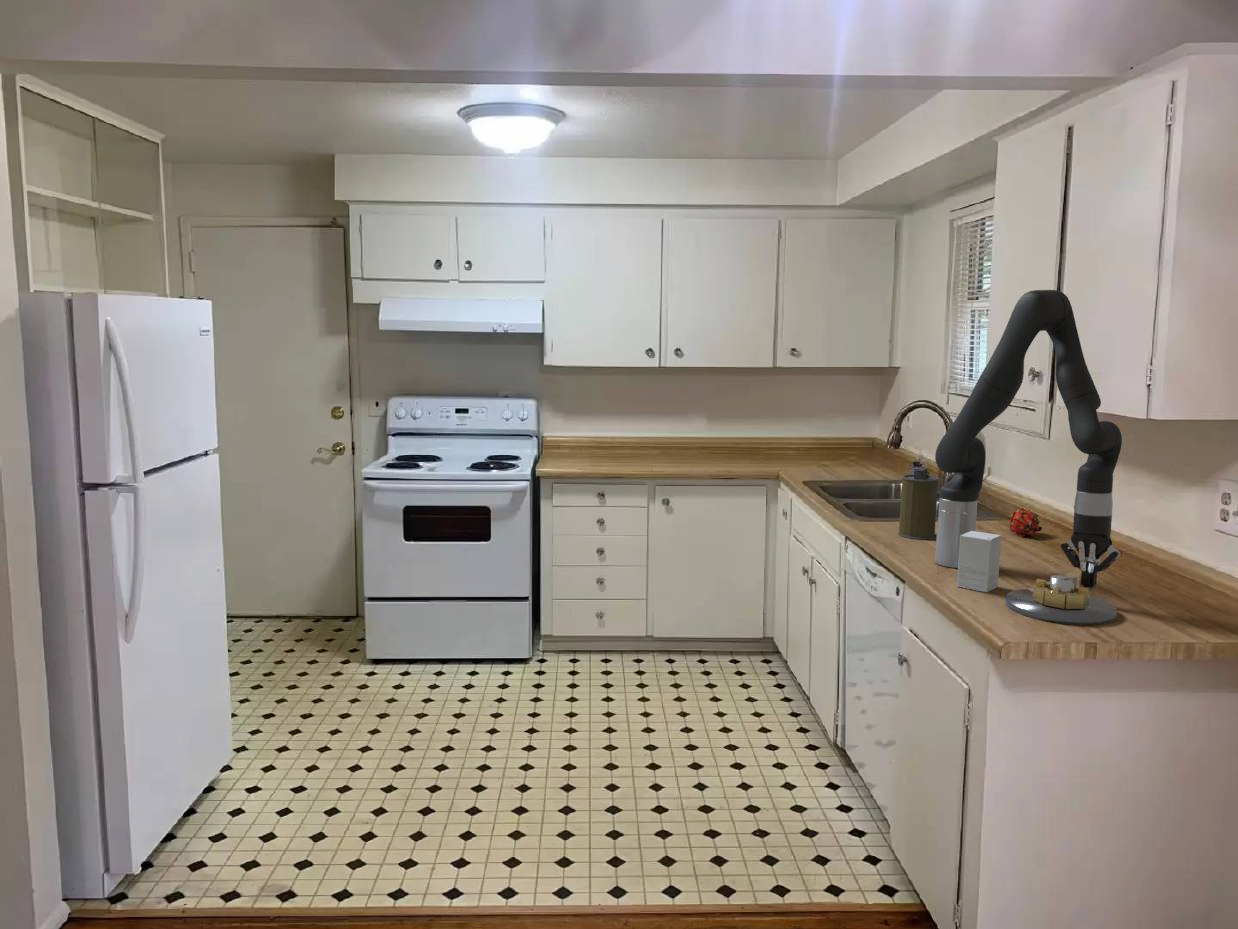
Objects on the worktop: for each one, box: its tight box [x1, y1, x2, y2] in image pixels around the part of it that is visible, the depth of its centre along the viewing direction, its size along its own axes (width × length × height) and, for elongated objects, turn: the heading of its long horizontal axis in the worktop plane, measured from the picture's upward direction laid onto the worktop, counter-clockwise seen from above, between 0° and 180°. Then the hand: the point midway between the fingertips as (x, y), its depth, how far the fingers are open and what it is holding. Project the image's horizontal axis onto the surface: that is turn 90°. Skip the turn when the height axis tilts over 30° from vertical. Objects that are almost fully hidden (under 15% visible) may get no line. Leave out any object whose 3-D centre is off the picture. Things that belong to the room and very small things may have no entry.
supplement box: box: [956, 530, 1002, 593], centre depth 221 cm, size 7×7×13 cm
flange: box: [1005, 575, 1118, 626], centre depth 204 cm, size 22×22×7 cm
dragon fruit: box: [1008, 508, 1043, 538], centre depth 278 cm, size 8×8×12 cm
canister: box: [897, 467, 940, 540], centre depth 274 cm, size 11×10×20 cm
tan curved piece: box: [1032, 571, 1091, 609], centre depth 206 cm, size 16×11×4 cm, turn 141°
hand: (1088, 587), depth 209 cm, fingers closed
